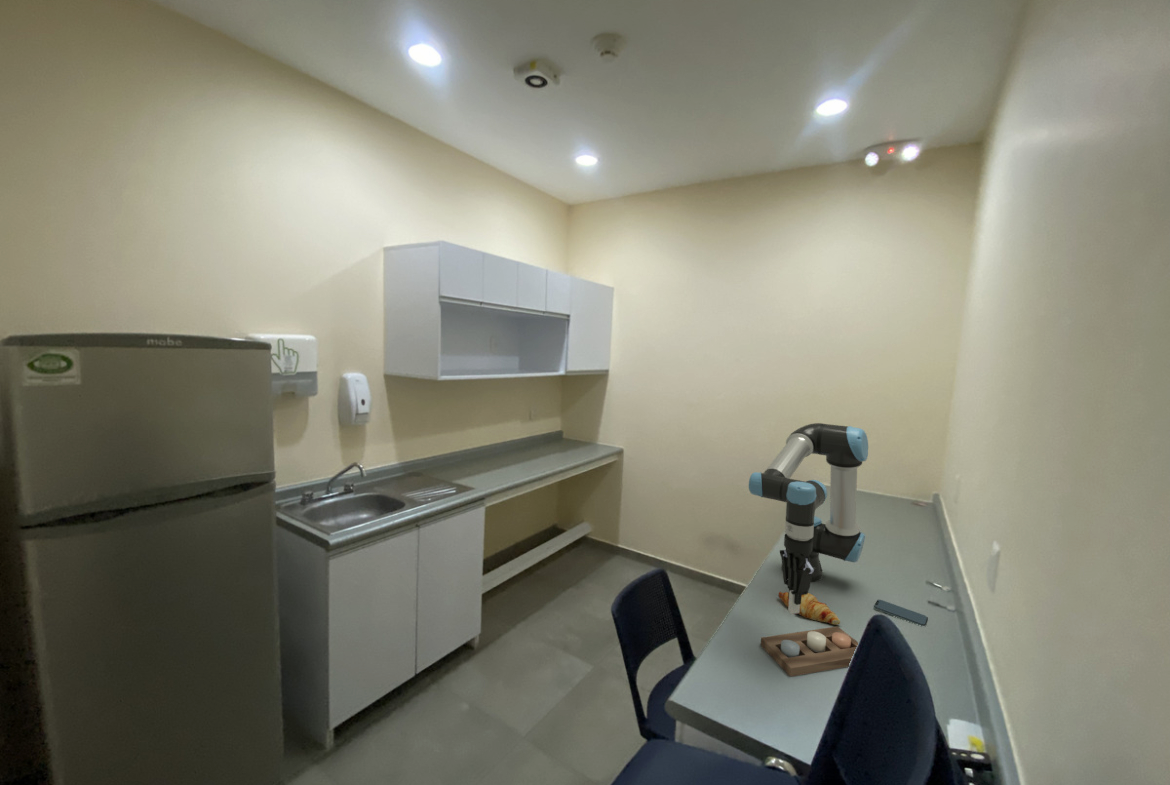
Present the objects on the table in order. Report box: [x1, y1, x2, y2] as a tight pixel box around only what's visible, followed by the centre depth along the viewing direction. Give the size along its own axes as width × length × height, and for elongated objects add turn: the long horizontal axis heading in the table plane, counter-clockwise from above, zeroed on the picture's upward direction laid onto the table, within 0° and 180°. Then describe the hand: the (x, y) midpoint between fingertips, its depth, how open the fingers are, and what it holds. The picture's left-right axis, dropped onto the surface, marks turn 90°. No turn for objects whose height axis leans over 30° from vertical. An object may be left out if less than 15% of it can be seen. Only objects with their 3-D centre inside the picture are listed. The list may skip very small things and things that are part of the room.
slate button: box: [781, 640, 800, 658], centre depth 138 cm, size 5×5×4 cm
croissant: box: [778, 591, 841, 626], centre depth 162 cm, size 21×10×8 cm, turn 41°
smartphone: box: [873, 599, 929, 627], centre depth 162 cm, size 8×2×15 cm
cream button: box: [807, 631, 826, 653], centre depth 140 cm, size 5×5×4 cm
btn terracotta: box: [832, 632, 851, 649], centre depth 142 cm, size 5×5×4 cm
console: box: [760, 625, 858, 678], centre depth 140 cm, size 14×28×2 cm, turn 104°
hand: (793, 612), depth 138 cm, fingers closed
